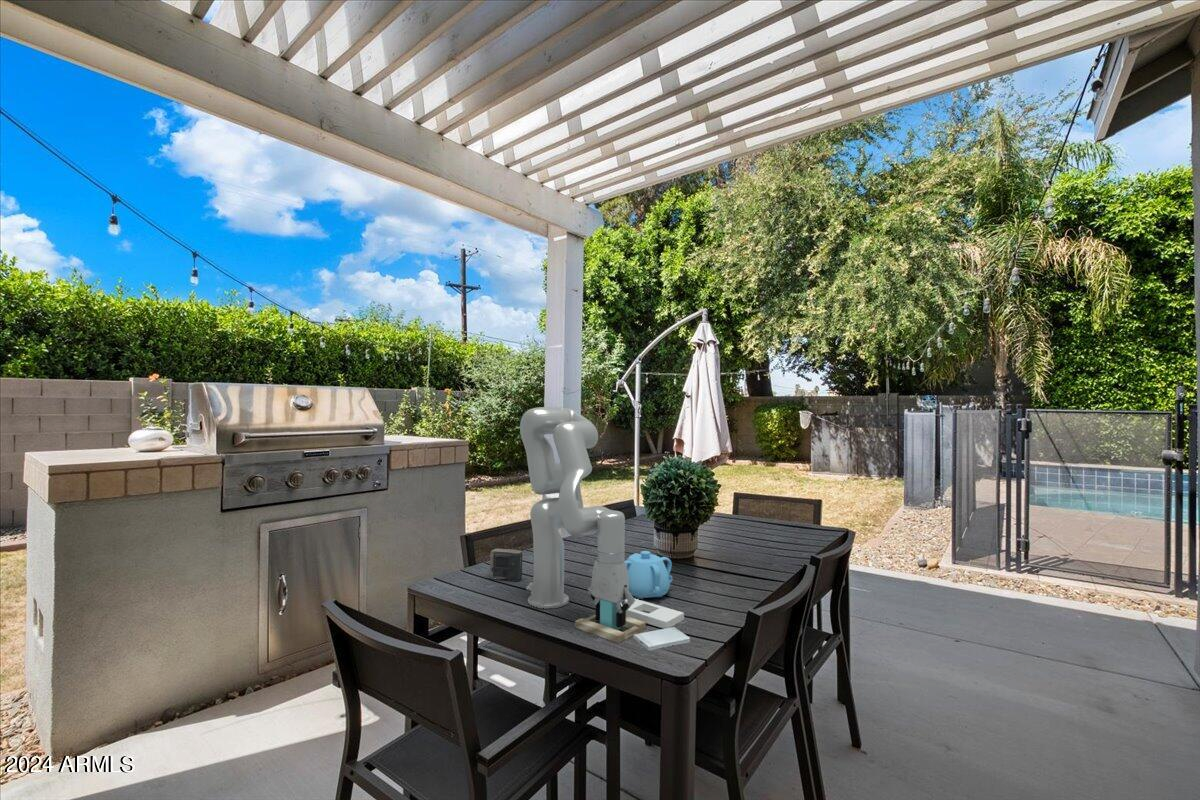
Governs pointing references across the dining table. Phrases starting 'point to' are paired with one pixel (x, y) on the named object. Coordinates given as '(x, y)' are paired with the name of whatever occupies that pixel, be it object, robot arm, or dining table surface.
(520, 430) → the robot arm
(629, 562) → the decorative pot
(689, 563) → the dining table surface
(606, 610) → the plug
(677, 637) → the hard drive
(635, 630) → the tan hollow rectangular frame
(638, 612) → the port panel
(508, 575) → the camera
